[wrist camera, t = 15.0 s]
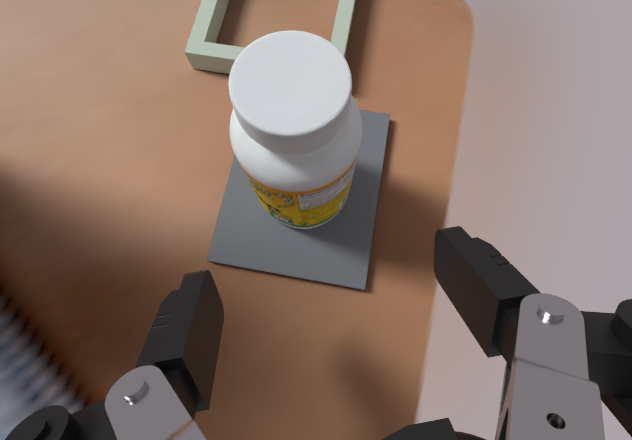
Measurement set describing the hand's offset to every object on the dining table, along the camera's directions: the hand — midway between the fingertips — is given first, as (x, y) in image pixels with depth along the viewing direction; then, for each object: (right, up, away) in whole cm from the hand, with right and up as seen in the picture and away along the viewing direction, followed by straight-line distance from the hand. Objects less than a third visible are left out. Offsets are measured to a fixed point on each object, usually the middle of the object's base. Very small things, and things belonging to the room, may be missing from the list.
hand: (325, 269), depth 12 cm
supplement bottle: (-1, +4, +8) cm, 9 cm away
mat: (-1, +4, +9) cm, 9 cm away
